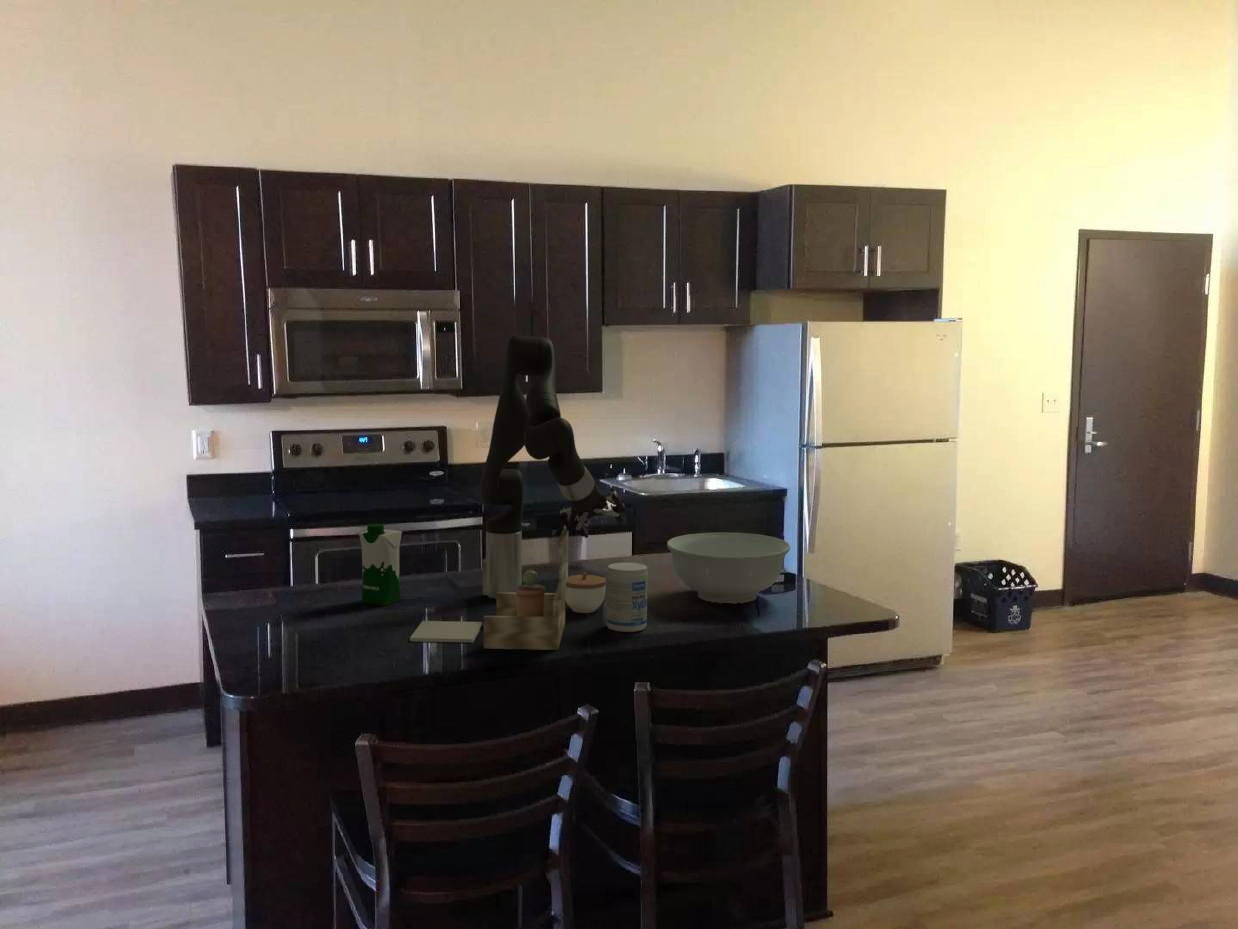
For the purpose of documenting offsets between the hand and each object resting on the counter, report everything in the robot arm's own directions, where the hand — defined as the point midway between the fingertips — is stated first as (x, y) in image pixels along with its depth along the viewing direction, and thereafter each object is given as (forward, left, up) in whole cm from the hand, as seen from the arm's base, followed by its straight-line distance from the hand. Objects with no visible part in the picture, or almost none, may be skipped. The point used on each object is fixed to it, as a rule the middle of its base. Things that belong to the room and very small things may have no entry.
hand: (603, 528), depth 246 cm
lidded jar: (-12, +11, -24) cm, 29 cm away
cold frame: (-11, -15, -23) cm, 30 cm away
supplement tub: (+5, +3, -24) cm, 24 cm away
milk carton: (-59, -11, -24) cm, 65 cm away
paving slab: (-27, -24, -23) cm, 43 cm away
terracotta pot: (-10, -15, -23) cm, 29 cm away
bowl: (+12, +43, -24) cm, 50 cm away
